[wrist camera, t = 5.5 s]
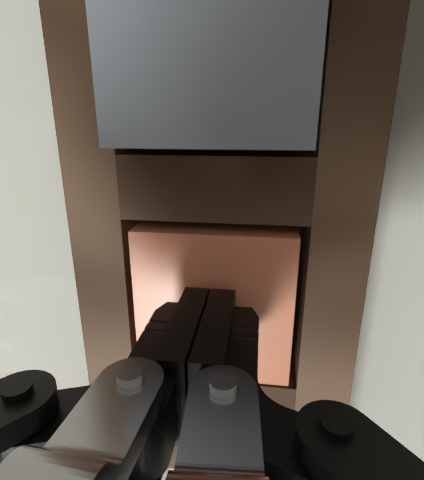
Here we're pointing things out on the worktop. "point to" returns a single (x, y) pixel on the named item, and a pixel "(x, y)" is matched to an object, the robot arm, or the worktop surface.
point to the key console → (238, 192)
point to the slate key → (207, 73)
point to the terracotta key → (222, 276)
